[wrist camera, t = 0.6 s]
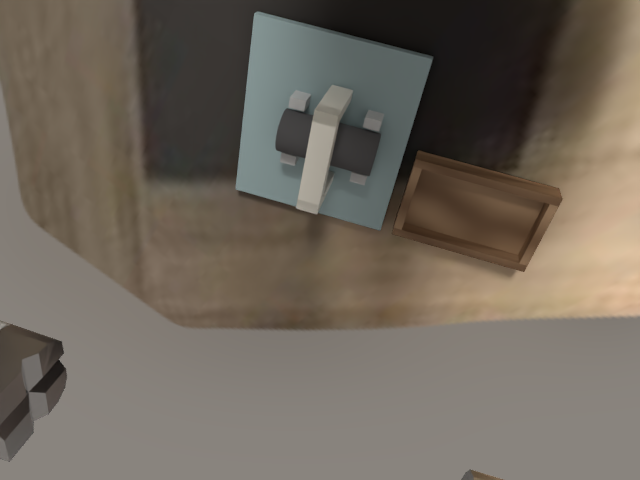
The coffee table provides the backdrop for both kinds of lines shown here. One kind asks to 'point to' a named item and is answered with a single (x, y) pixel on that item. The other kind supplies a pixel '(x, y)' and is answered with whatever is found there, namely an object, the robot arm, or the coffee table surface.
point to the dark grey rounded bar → (349, 149)
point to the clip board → (306, 93)
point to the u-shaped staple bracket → (322, 148)
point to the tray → (475, 211)
